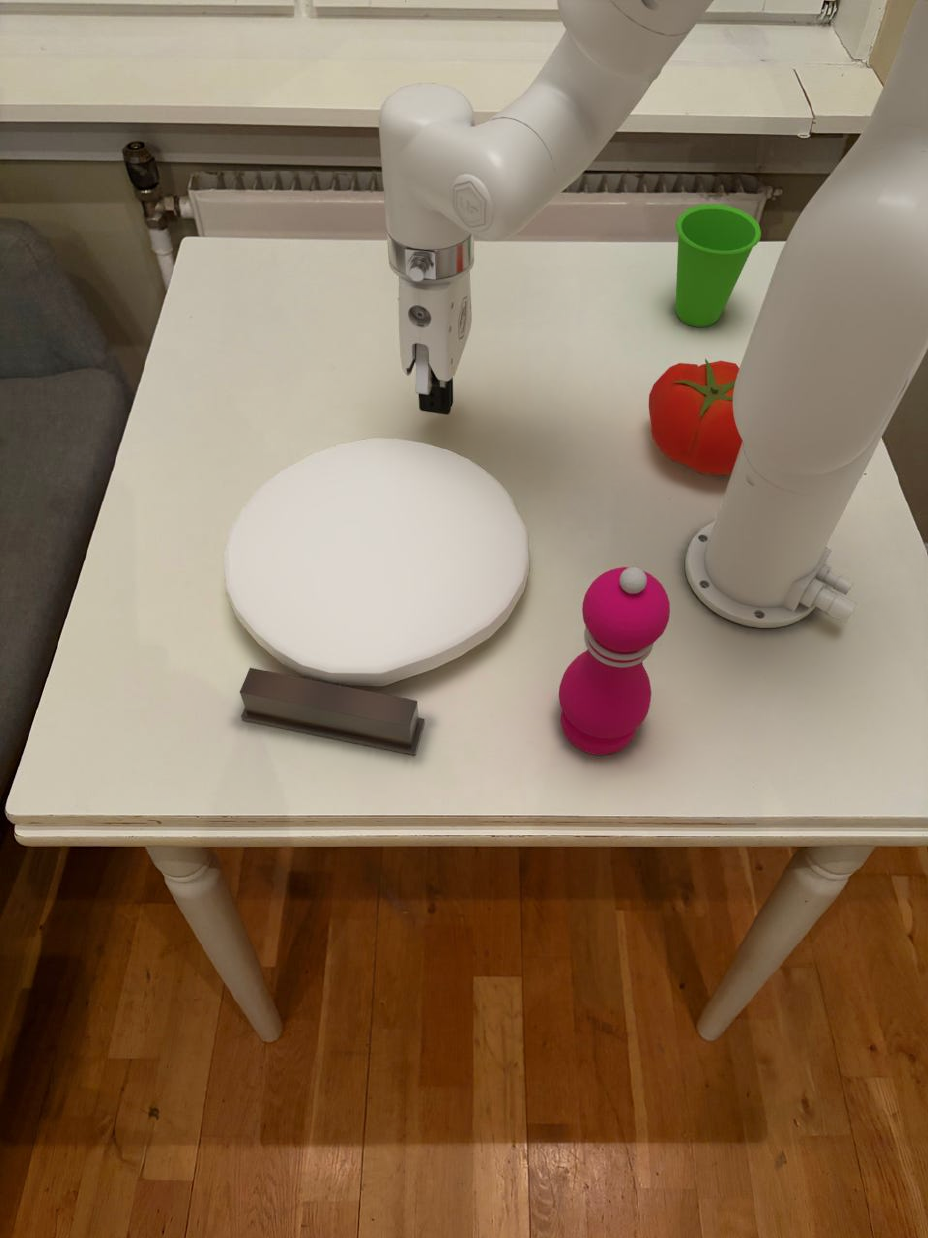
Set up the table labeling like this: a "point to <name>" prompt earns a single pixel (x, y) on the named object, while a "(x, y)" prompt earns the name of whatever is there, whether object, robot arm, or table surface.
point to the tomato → (696, 416)
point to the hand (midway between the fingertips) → (436, 407)
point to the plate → (376, 561)
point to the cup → (711, 259)
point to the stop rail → (331, 711)
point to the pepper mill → (613, 660)
